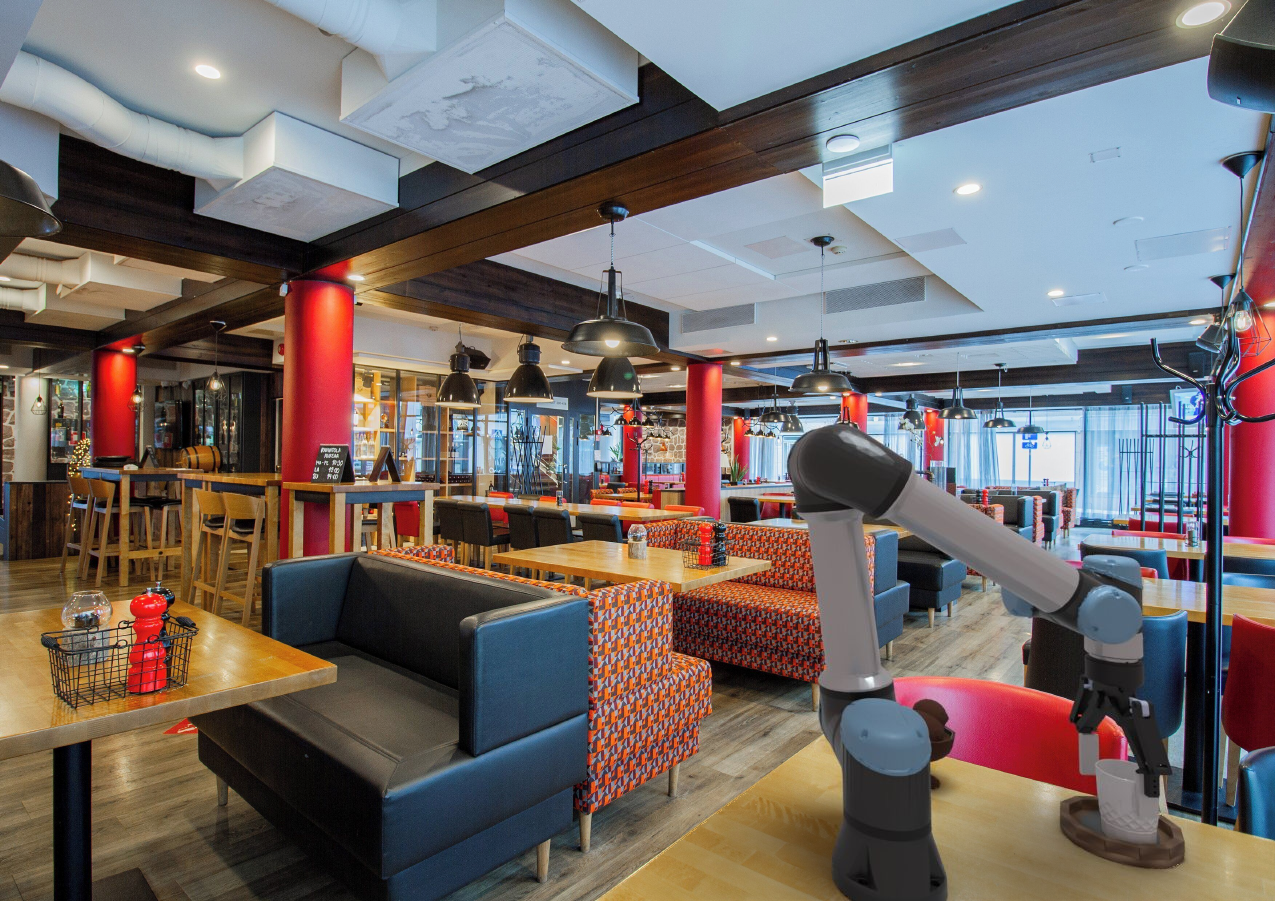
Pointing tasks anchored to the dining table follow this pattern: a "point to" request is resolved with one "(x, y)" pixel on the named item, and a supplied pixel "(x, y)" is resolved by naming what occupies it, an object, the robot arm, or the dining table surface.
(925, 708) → the ice cream bowl
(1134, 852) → the tray
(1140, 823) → the white cup
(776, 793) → the dining table surface
